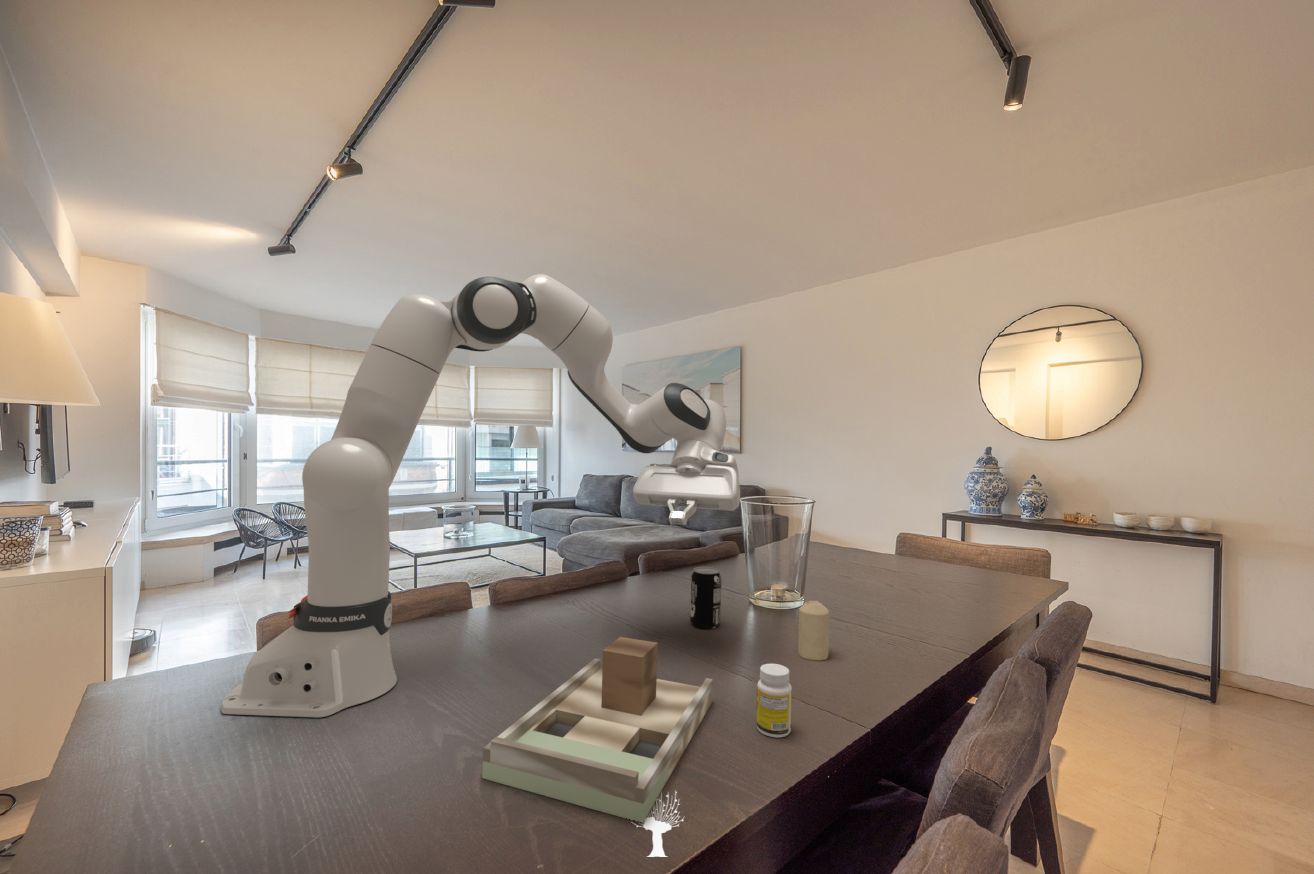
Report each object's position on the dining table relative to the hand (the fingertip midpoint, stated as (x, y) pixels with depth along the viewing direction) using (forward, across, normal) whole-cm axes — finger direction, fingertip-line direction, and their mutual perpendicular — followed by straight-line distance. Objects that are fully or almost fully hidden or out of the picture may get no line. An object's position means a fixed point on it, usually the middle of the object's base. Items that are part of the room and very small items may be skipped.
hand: (677, 522), depth 99 cm
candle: (+8, +23, +28) cm, 37 cm away
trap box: (+36, 0, -1) cm, 36 cm away
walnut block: (+31, 0, +2) cm, 31 cm away
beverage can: (+2, 0, +34) cm, 34 cm away
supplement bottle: (+29, +20, +7) cm, 36 cm away
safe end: (+44, 0, -8) cm, 44 cm away
